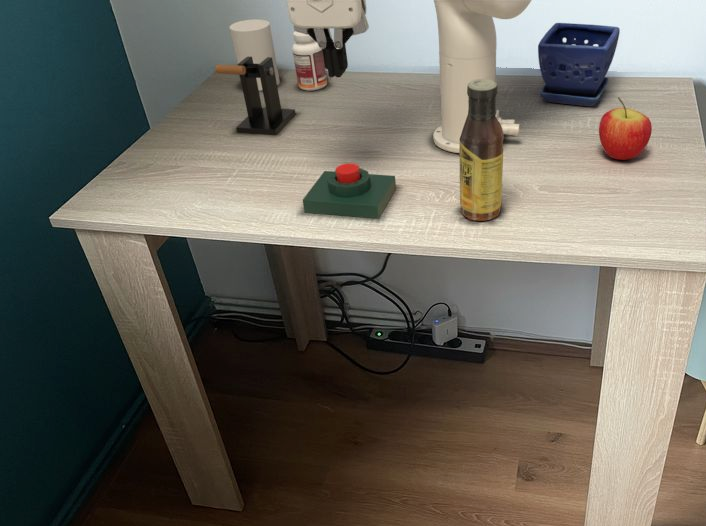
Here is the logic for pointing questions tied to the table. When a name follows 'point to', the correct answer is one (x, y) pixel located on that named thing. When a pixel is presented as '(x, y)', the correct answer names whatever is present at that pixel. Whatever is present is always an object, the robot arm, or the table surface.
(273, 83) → the bracket
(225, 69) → the lever
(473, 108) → the sauce bottle
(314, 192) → the control block
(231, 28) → the cup
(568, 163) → the table surface
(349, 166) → the button
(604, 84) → the flower pot
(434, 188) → the table surface
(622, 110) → the apple
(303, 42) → the pill bottle
